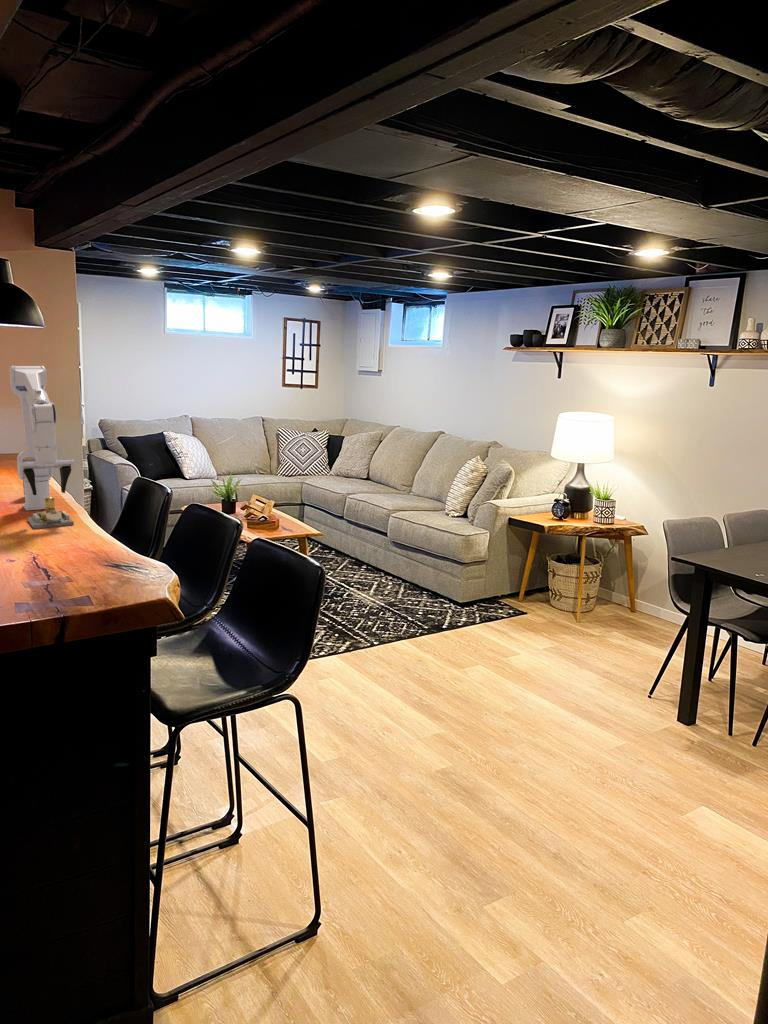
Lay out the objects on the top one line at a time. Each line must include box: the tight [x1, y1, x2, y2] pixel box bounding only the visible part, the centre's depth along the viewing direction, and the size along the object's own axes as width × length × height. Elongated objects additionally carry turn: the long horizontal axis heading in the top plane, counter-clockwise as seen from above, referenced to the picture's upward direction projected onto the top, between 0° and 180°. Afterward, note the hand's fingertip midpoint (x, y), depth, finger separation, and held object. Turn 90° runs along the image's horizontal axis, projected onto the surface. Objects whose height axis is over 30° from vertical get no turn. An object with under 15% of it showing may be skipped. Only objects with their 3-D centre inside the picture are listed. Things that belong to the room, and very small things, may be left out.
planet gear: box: [41, 496, 56, 520], centre depth 221 cm, size 5×5×6 cm
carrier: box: [26, 509, 74, 530], centre depth 219 cm, size 12×10×4 cm
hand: (49, 493), depth 220 cm, fingers open, 7 cm apart
